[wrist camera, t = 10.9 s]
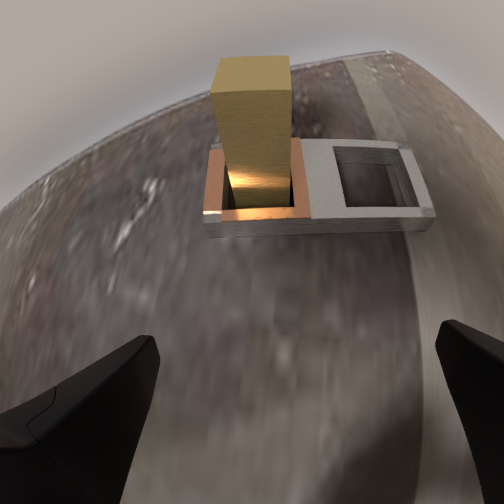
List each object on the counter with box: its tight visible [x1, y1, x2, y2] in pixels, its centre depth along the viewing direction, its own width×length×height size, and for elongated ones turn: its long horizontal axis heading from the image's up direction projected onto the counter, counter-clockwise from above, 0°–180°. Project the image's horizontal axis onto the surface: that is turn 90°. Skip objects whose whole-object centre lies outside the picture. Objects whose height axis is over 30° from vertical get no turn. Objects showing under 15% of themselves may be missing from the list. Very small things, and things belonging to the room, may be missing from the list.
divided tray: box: [203, 138, 437, 238], centre depth 25 cm, size 20×9×3 cm, turn 90°
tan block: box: [210, 56, 292, 209], centre depth 21 cm, size 4×4×13 cm
